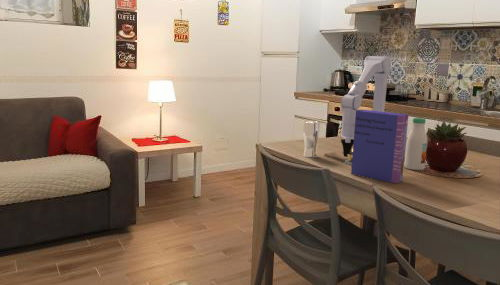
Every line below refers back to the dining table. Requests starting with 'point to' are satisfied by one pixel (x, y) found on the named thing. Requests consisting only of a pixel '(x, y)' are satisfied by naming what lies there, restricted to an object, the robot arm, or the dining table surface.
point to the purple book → (379, 145)
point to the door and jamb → (338, 157)
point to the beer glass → (311, 138)
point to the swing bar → (350, 155)
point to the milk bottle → (416, 146)
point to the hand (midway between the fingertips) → (346, 156)
